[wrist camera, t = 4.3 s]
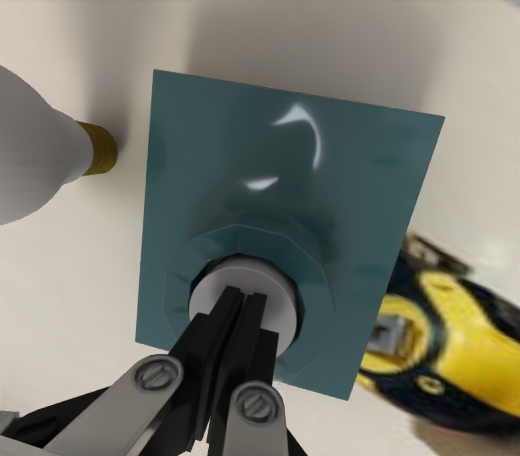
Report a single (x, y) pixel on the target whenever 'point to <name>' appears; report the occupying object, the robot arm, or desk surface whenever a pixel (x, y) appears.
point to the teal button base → (279, 210)
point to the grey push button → (252, 292)
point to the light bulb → (42, 149)
